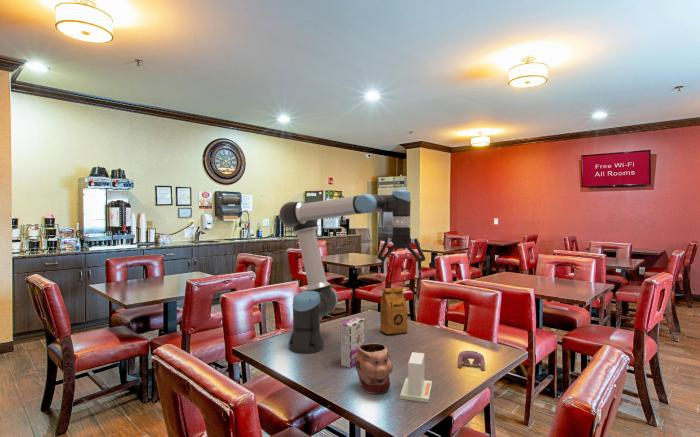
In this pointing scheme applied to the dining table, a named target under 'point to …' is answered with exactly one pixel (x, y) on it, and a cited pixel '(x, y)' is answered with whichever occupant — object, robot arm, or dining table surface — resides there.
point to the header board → (422, 398)
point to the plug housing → (416, 373)
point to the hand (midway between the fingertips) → (401, 276)
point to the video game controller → (474, 355)
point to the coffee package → (393, 311)
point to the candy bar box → (351, 340)
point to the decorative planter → (373, 367)
